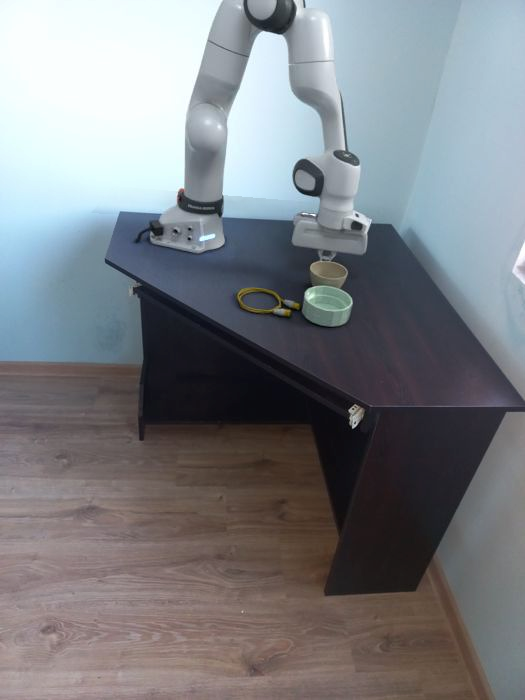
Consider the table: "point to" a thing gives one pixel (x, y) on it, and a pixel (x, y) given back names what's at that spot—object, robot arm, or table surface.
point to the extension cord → (275, 311)
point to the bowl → (327, 306)
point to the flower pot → (327, 274)
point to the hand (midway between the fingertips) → (324, 263)
